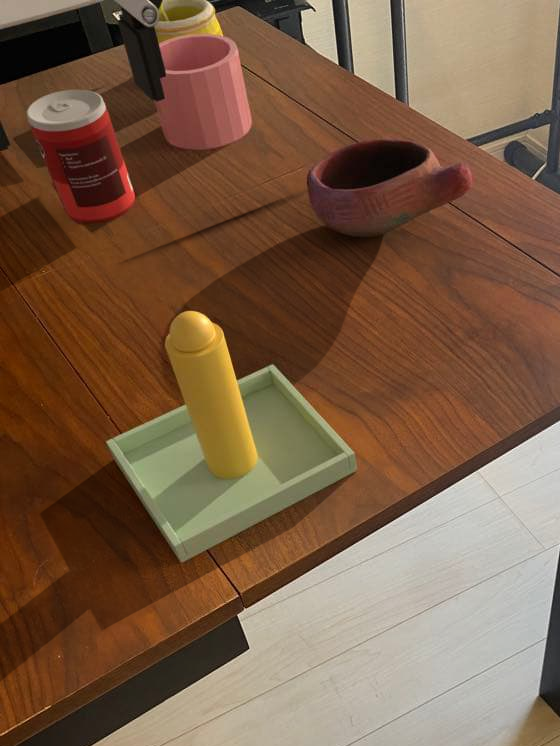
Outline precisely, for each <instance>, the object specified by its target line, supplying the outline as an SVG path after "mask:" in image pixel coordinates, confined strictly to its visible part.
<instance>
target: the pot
mask: <svg viewBox="0 0 560 746" xmlns="http://www.w3.org/2000/svg"><path fill="white" fill-rule="evenodd" d="M159 47H160V51H161V55H162V59H163V63H164V67H165V71H166V76H165V77H163V78H160V80H161V84H162V88H163V92H164V96H165V99H163V100H160V101H157V102H156V101H155V100H153V101H154V105H155V108H156V111H157V116H158V119H159V123H160V125H161V129H162V132H163V136H164V139H165V140H166V141H167V142H168V143H169V144H170V145H172V146H174V147H176V148H179V149H183V150H191V151H200V150H201V151H203V150H211V149H216V148H220V147H224V146H227V145H231V144H232V143H235V142H236V141H239V140H240V139H242V138H243V137H244V136H246V135H247V134H248V133H249V131H250V129H251V128H252V123H253V119H252V114H251V109H250V105H249V99H248V95H247V90H246V85H245V84H246V83H245V80H244V79H245V78H244V75H243V70H242V64H241V59H240V54H239V49H238V46H237V44H236V42H235V41H234V40H232V39H231V38H230V37H227V36H224V35H223V36H220V35H215V34H191V35H185V36H179V37H175V38H172V39H169V40H166V41H163V42H161V43H159Z"/></svg>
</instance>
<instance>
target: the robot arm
mask: <svg viewBox="0 0 560 746" xmlns="http://www.w3.org/2000/svg"><path fill="white" fill-rule="evenodd" d="M104 1H105V0H0V30H3V29H7V28H11V27H14V26H19V25H22V24H26V23H29V22H33V21H37V20H41V19H44V18H48V17H52V16H56V15H59V14H63V13H66V12H71V11H73V10H77V9H81V8H84V7H88V6H91V5H94V4H98V3H102V2H104ZM113 1H114V2H115V3H116V4H117V5H119V6H120V11H121V13H120V14H118V17H119V19H118V20H117V23H118V27H119V31H120V35H121V38H122V42H123V45H124V48H125V52H126V56H127V60H128V62H129V63H128V64H129V66H130V70H131V74H132V77H133V80H134V83H135V85H136V86H137V87H138V88H139V89H140V90H141V91H142V92H143V94H145V95H146V96H147V97H148V98H149V99H150V100H152V101H154V100H155V101H156V102H157V101H160V100H163V99H165V96H164V92H163V88H162V84H161V80H160V78H163V77H165V76H166V71H165V67H164V63H163V59H162V55H161V51H160V47H159V43H158V39H157V35H156V31H155V27H154V26H155V25H156V24H157V23H158V20H159V11H158V10H159V8H160V6H161V4H162V1H163V0H113ZM155 101H154V102H155ZM10 146H11V143H10V140H9V138H8V136H7V134H6V131H5V129H4V126H3V124H2V121H1V120H0V152H3V151H6V150H8V149H9V147H10Z"/></svg>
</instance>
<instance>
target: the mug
mask: <svg viewBox="0 0 560 746" xmlns="http://www.w3.org/2000/svg"><path fill="white" fill-rule="evenodd" d="M158 11H159V20H158V23H157V24H156V25H155V26H154V27H155V31H156V35H157V39H158V43H161V42H163V41H166V40H169V39H172V38H175V37H179V36H185V35H191V34H215V35H220V36H224V35H223V30H222V27H221V25H220V23H219V21H218V19H217V16H216V8H215V7H214V5H213V4H212V3H210V2H209V1H208V0H163V1H162V4H161V6H160V8H159V10H158Z"/></svg>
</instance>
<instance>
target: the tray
mask: <svg viewBox="0 0 560 746" xmlns="http://www.w3.org/2000/svg"><path fill="white" fill-rule="evenodd" d="M236 380H237V384H238V387H239V391H240V394H241V398H242V401H243V405H244V409H245V412H246V416H247V419H248V423H249V426H250V430H251V434H252V437H253V441H254V444H255V448H256V451H257V455H258V459H257V463H256V465H255V466H254V468H253V469H252V470H251V471H250V472H248V473H247V474H245V475H243V476H241V477H238V478H234V479H223V478H219V477H216V476H215V475H213V474H212V473H211V472H210V471H209V469H208V466H207V464H206V461H205V458H204V455H203V452H202V449H201V447H200V444H199V441H198V438H197V435H196V432H195V430H194V427H193V424H192V421H191V418H190V415H189V413H188V410H187V407H186V404H183V405H181V406H178V407H177V408H175V409H172V410H171V411H168V412H167V413H164V414H162V415H160V416H157V417H155V418H152V419H150V420H149V421H147V422H145V423H142V424H140V425H138V426H136V427H134V428H132V429H130V430H127V431H125V432H123V433H121V434H119V435H117V436H114V437H112V438H110V439H108V440H106V441H105V444H106V446H107V448H108V450H109V452H110V454H111V456H112V458H113V460H114V461H115V463H116V465H117V466H118V468H119V469H120V471H121V472H122V474H123V475H124V477H125V479H126V480H127V482H128V483H129V485H130V486H131V488H132V490H133V491H134V493H135V494H136V496H137V497H138V499H139V500H140V502H141V503H142V505H143V507H144V508H145V510H146V511H147V512H148V514H149V516H150V517H151V519H152V520H153V522H154V523H155V525H156V527H157V528H158V530H159V531H160V533H161V535H162V536H163V537H164V539H165V541H166V542H167V543H168V545H169V548H171V550H172V552H173V553H174V554H175V556H176V558H177V559H178V561H179V562H180V563H181V564H183V563H185V562H186V561H188V560H190V559H192V558H194V557H196V556H198V555H200V554H201V553H203V552H206V551H207V550H209V549H211V548H213V547H214V546H216V545H219V544H221V543H223V542H225V541H226V540H228V539H230V538H232V537H234V536H235V535H237V534H239V533H242V532H243V531H246V530H247V529H249V528H251V527H252V526H255V525H256V524H259V523H261V522H262V521H265V520H266V519H268V518H270V517H272V516H273V515H275V514H277V513H279V512H281V511H283V510H285V509H287V508H289V507H291V506H293V505H294V504H297V503H298V502H301V501H303V500H304V499H306V498H308V497H310V496H312V495H314V494H316V493H317V492H320V491H321V490H323V489H325V488H327V487H329V486H330V485H332V484H334V483H336V482H338V481H340V480H342V479H344V478H346V477H348V476H349V475H352V474H353V473H355V472H357V471H358V467H357V461H356V455H355V451H353V450H352V449H351V447H350V446H349V445H348V444H347V443H346V442H345V441H344V440H343V439H342V437H340V435H339V434H338V433H337V432H336V431H335V430H334V429H333V428H332V427H331V425H330V424H329V423H327V421H326V420H325V419H324V418H323V417H322V416H321V415H320V414H319V413H318V411H316V409H315V408H314V407H313V406H312V405H311V404H310V403H309V402H308V401H307V400H306V398H305V397H304V396H303V395H302V394H301V393H300V392H299V391H298V390H297V389H296V388H295V387H294V385H292V383H291V382H290V381H289V380H288V379H287V378H286V376H285V375H284V374H282V372H281V371H280V370H279V369H278V368H277V367H276V366H275V365H274V364H273V363H272V364H269V365H268V366H265V367H263V368H261V369H259V370H257V371H255V372H253V373H250V374H248V375H246V376H244V377H242V378H240V379H236Z"/></svg>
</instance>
